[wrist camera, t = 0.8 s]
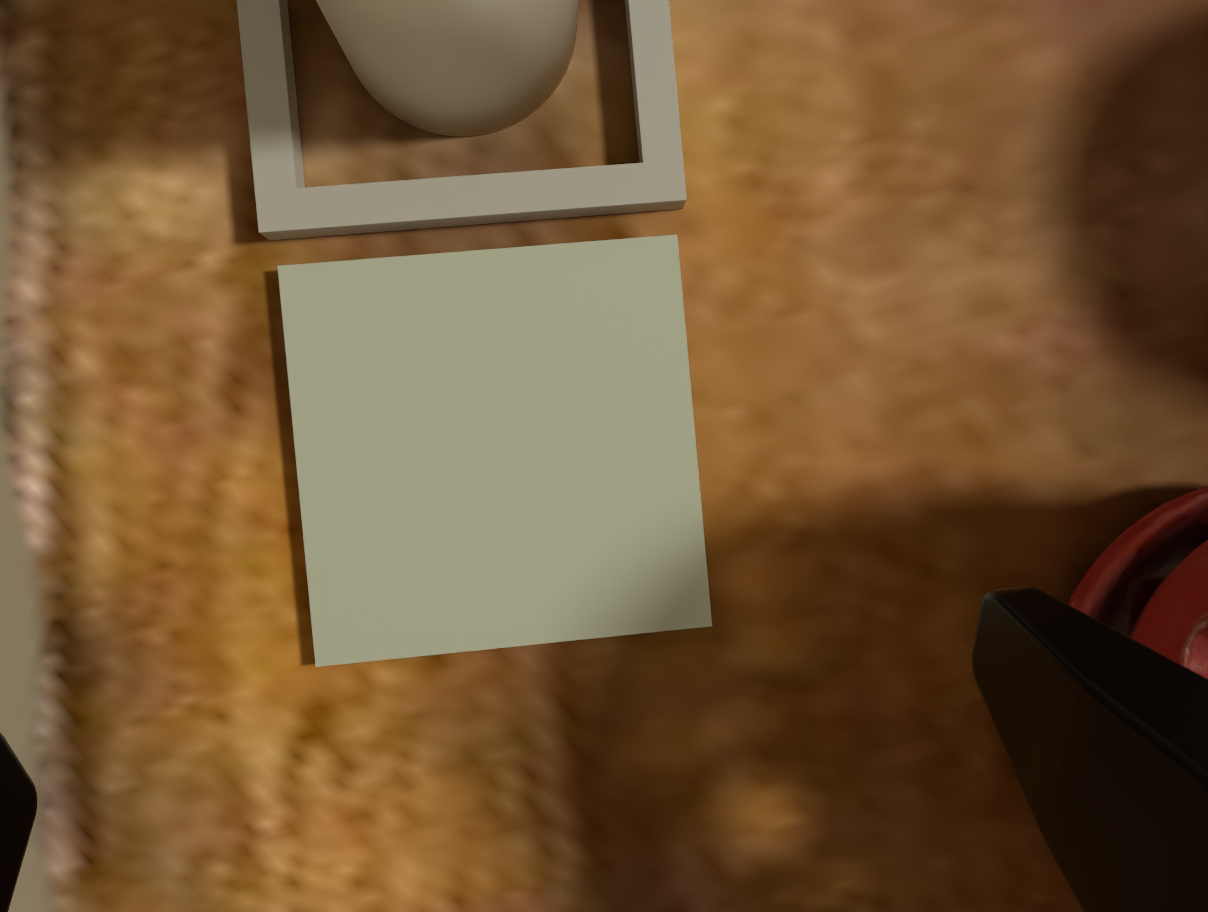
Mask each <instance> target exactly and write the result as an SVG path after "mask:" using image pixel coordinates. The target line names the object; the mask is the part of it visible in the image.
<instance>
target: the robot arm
mask: <svg viewBox="0 0 1208 912" xmlns="http://www.w3.org/2000/svg"><path fill="white" fill-rule="evenodd" d="M972 665H973V671H974V675H975V679H976V681H977V684H978V687H979V689H980V691H981V694H982V696H983V698H984V701H985V703H986V705H987V708H988V710H989V713H990V715H991V717H992V720H993V722H994V724H995V727H996V729H997V731H998V734H999V736H1000V739H1001V741H1002V743H1003V746H1004V748H1005V750H1006V753H1007V755H1008V757H1009V760H1010V762H1011V765H1012V767H1013V769H1014V772H1015V774H1016V776H1017V779H1018V781H1019V783H1020V786H1021V788H1022V791H1023V793H1024V795H1025V798H1026V800H1027V802H1028V805H1029V807H1030V809H1031V812H1032V814H1033V816H1034V818H1035V820H1036V823H1037V825H1038V827H1039V829H1040V831H1041V833H1042V835H1043V837H1044V839H1045V841H1046V843H1047V845H1048V847H1049V849H1050V851H1051V853H1052V854H1053V856H1054V858H1055V860H1056V862H1057V864H1058V866H1059V867H1060V869H1061V871H1062V873H1063V875H1064V876H1065V878H1066V880H1067V882H1068V884H1069V885H1070V887H1071V889H1072V891H1073V893H1074V895H1075V896H1076V898H1077V900H1078V902H1079V904H1080V905H1081V907H1082V909H1083V911H1084V912H1208V679H1207V678H1205V677H1203V676H1201V675H1199V674H1197V673H1195V672H1194V671H1192V670H1190V669H1188V668H1186V667H1184V666H1182V665H1180V664H1179V663H1177V662H1175V661H1173V660H1171V659H1169V658H1167V657H1165V656H1164V655H1162V654H1160V653H1158V652H1156V651H1154V650H1152V649H1150V648H1149V647H1147V646H1145V645H1143V644H1141V643H1139V642H1137V641H1135V640H1134V639H1132V638H1130V637H1128V636H1126V635H1124V634H1122V633H1120V632H1119V631H1117V630H1115V629H1113V628H1111V627H1109V626H1107V625H1105V624H1104V623H1102V622H1100V621H1098V620H1096V619H1094V618H1092V617H1090V616H1089V615H1087V614H1085V613H1083V612H1081V611H1079V610H1077V609H1075V608H1074V607H1072V606H1070V605H1068V604H1066V603H1064V602H1062V601H1061V600H1059V599H1057V598H1055V597H1053V596H1051V595H1049V594H1047V593H1046V592H1044V591H1042V590H1040V589H1037V588H1035V587H1032V586H1018V587H1011V588H1004V589H996V590H992V591H990V592H988V593H987V594H986V595H985V596H984V598H983V599H982V603H981V607H980V613H979V619H978V624H977V630H976V636H975V642H974V648H973V655H972ZM36 811H37V793H36V789H35V785H34V783H33V782H32V780H31V778H30V777H29V775H28V774H27V772H26V771H25V769H24V768H23V766H22V764H21V763H20V761H19V760H18V758H17V757H16V755H15V753H14V752H13V750H12V749H11V747H10V746H9V744H8V743H7V741H6V739H5V738H4V736H3V735H2V734H1V733H0V912H8V910H9V906H10V903H11V899H12V895H13V892H14V889H15V885H16V882H17V878H18V875H19V872H20V868H21V864H22V861H23V857H24V854H25V851H26V847H27V844H28V840H29V837H30V833H31V830H32V826H33V823H34V819H35V816H36Z"/></svg>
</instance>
